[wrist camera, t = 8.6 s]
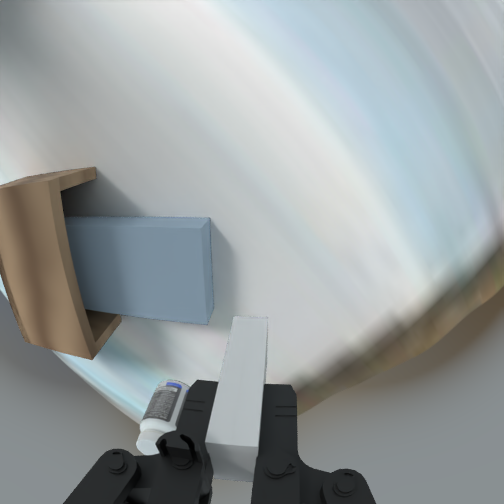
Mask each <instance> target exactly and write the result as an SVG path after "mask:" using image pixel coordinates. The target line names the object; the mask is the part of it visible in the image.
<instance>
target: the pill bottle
mask: <svg viewBox="0 0 504 504" xmlns="http://www.w3.org/2000/svg"><path fill="white" fill-rule="evenodd" d="M189 388H190V387H188V386H187V385H185V384H183V383H181V382H179V381H175V380H165V381H162V382H161V383H159V384H158V386H157V388H156V390H155V392H154V394H153V396H152V399H151V401H150V403H149V405H148V408H147V410H146V412H145V415H144V417H143V419H142V421H141V424H140V430H141V433H140V435H139V437H138V440H137V443H136V445H137V448H138V449H139V450H140V451H141V452H142V453H143V454H145V455H154V454H158V453H159V451H158V449H157V447H156V445H155V443H156V441H157V440H158V438H159V437H160V436H162V435H163V434H164V433H167V432H170V431H173V430H176V428H177V425H178V422H179V418H180V415H181V412H182V410H183V406H184V403H185V401H186V396H187V393H188V390H189Z"/></svg>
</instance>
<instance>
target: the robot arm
mask: <svg viewBox="0 0 504 504" xmlns="http://www.w3.org/2000/svg"><path fill="white" fill-rule="evenodd" d="M267 338H268V317H248V316H234V317H233V322H232V326H231V330H230V335H229V339H228V343H227V348H226V352H225V357H224V361H223V365H222V370H221V374H220V378H219V382H215V381H204V380H197V381H196V382H195V383H194V384H193V385H192V386H191V387H190V388H189V390H188V393H187V396H186V401H185V403H184V406H183V410H182V412H181V415H180V418H179V422H178V425H177V428H176V430H173V431H170V432H167V433H164V434H163V435H162V436H160V437H159V438H158V440H157V441H156V443H155V445H156V447H157V449H158V451H159V453H158V454H154V455H143V456H133V455H132V454H131V453H129V452H128V451H126V450H123V449H112V450H109V451H107V452H105V453H104V454H103V455H102V456H101V457H100V458H99V459H98V461H97V462H96V463H95V465H94V466H93V467H92V469H91V470H90V471H89V472H88V473H87V474H86V476H85V477H84V478H83V479H82V481H81V482H80V483H79V484H78V486H77V487H76V488H75V489H74V491H73V492H72V493H71V494H70V496H69V497H68V498H67V499H66V501H65V502H64V503H63V504H210V503H211V497H212V486H211V484H212V479H213V475H214V478H215V479H223V480H233V481H246V482H253V488H252V497H251V504H376V503H375V500H374V498H373V495H372V494H371V491H370V489H369V486H368V484H367V482H366V480H365V479H364V477H363V476H362V475H361V474H360V473H358V472H357V471H355V470H351V469H339V470H336V471H334V472H332V473H329V472H324V471H321V470H317V469H313V468H311V467H309V466H307V465H306V464H305V463H304V462H303V461H302V460H301V459H300V457H299V455H298V450H297V397H296V393H295V391H294V390H293V388H292V386H291V385H284V384H265V382H266V367H267Z"/></svg>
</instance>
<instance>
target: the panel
mask: <svg viewBox="0 0 504 504" xmlns="http://www.w3.org/2000/svg"><path fill="white" fill-rule="evenodd" d="M64 220H65V226H66V231H67V237H68V242H69V247H70V252H71V257H72V261H73V265H74V270H75V274H76V278H77V282H78V286H79V290H80V294H81V297H82V301H83V305H84V308H85V309H88V310H94V311H101V312H107V313H113V314H120V315H127V316H134V317H142V318H149V319H157V320H166V321H174V322H183V323H193V324H203V325H208V322H209V320H210V317H211V314H212V312H213V309H214V300H213V282H212V262H211V238H210V218H194V217H64Z"/></svg>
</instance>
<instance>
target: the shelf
mask: <svg viewBox="0 0 504 504" xmlns="http://www.w3.org/2000/svg"><path fill="white" fill-rule="evenodd" d="M93 179H96V169H95V167H89V168H81V169H74V170H67V171H60V172H53V173H47V174H40V175H34V176H29V177H25V178H22V179H18V180H15V181H12V182H9V183H6V184H3V185H0V274H1V278H2V281H3V284H4V287H5V290H6V293H7V296H8V299H9V302H10V305H11V307H12V310H13V313H14V315H15V318H16V321H17V323H18V326H19V328H20V331H21V333H22V336H23V338H24V340H25V342H28V343H31V344H34V345H38V346H41V347H44V348H48V349H51V350H55V351H58V352H62V353H66V354H70V355H74V356H78V357H82V358H86V359H90V360H93V359H94V357H95V356H96V355H97V353H98V352H99V350H100V349H101V348H102V346H103V345H104V344H105V342H106V341H107V340H108V338H109V337H110V336H111V334H112V333H113V332H114V330H115V329H116V328H117V327H118V325H119V324H120V323H121V317H120V314H113V313H107V312H101V311H94V310H88V309H85V308H84V305H83V301H82V297H81V294H80V290H79V286H78V282H77V278H76V274H75V270H74V265H73V261H72V257H71V252H70V247H69V242H68V237H67V231H66V226H65V220H64V214H63V207H62V200H61V193H60V191H62V190H65V189H68V188H70V187H73V186H76V185H79V184H82V183H84V182H87V181H90V180H93Z"/></svg>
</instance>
